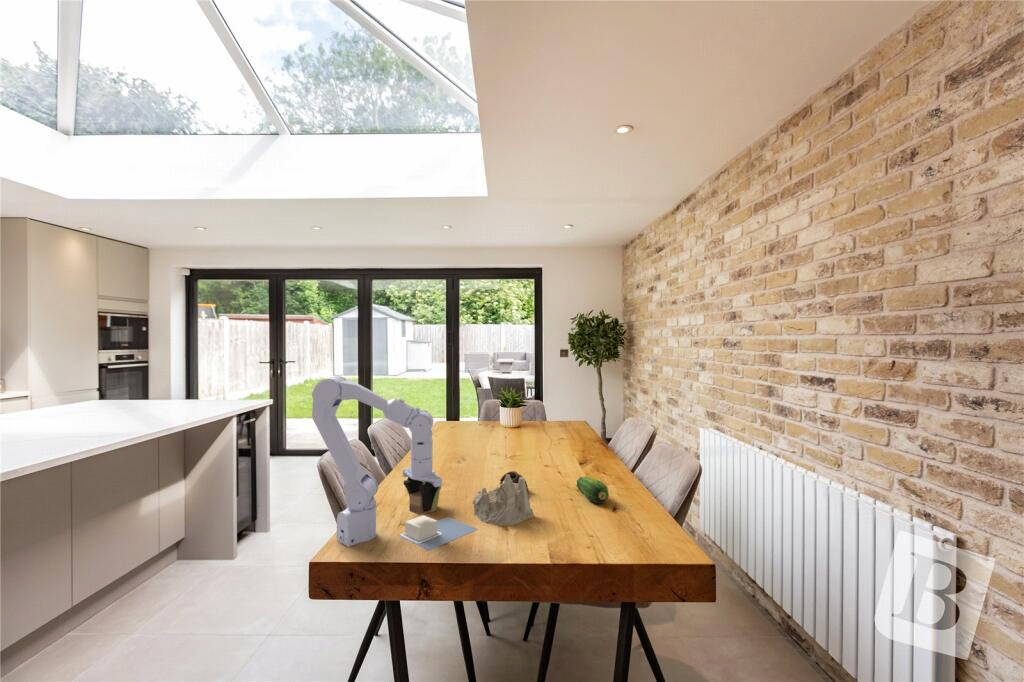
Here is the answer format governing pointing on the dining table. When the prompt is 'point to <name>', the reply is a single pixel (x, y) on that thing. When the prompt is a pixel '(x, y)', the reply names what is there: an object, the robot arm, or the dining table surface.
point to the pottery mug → (513, 478)
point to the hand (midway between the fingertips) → (421, 508)
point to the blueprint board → (443, 533)
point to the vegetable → (593, 489)
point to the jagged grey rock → (504, 503)
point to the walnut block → (417, 504)
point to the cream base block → (421, 528)
